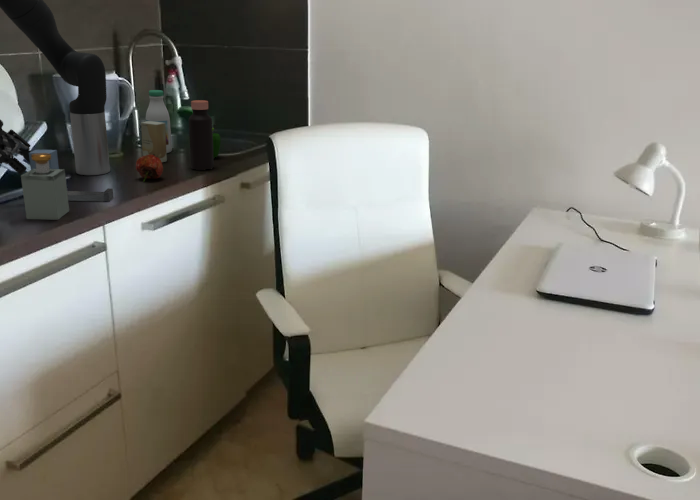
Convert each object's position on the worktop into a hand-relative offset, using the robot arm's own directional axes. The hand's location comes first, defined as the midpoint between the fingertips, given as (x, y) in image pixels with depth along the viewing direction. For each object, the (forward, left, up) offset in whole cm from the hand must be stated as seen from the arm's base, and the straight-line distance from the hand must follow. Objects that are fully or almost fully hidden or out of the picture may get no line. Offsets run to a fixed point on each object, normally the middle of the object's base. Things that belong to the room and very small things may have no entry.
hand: (31, 167), depth 167 cm
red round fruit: (-22, +23, -8) cm, 33 cm away
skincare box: (-45, +19, -8) cm, 50 cm away
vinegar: (-37, +35, -8) cm, 52 cm away
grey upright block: (+14, +8, -8) cm, 18 cm away
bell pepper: (-52, +34, -8) cm, 63 cm away
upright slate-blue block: (0, +3, -8) cm, 8 cm away
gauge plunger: (+14, +8, -1) cm, 16 cm away
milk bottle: (-60, +17, -8) cm, 63 cm away
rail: (0, +8, -8) cm, 12 cm away
